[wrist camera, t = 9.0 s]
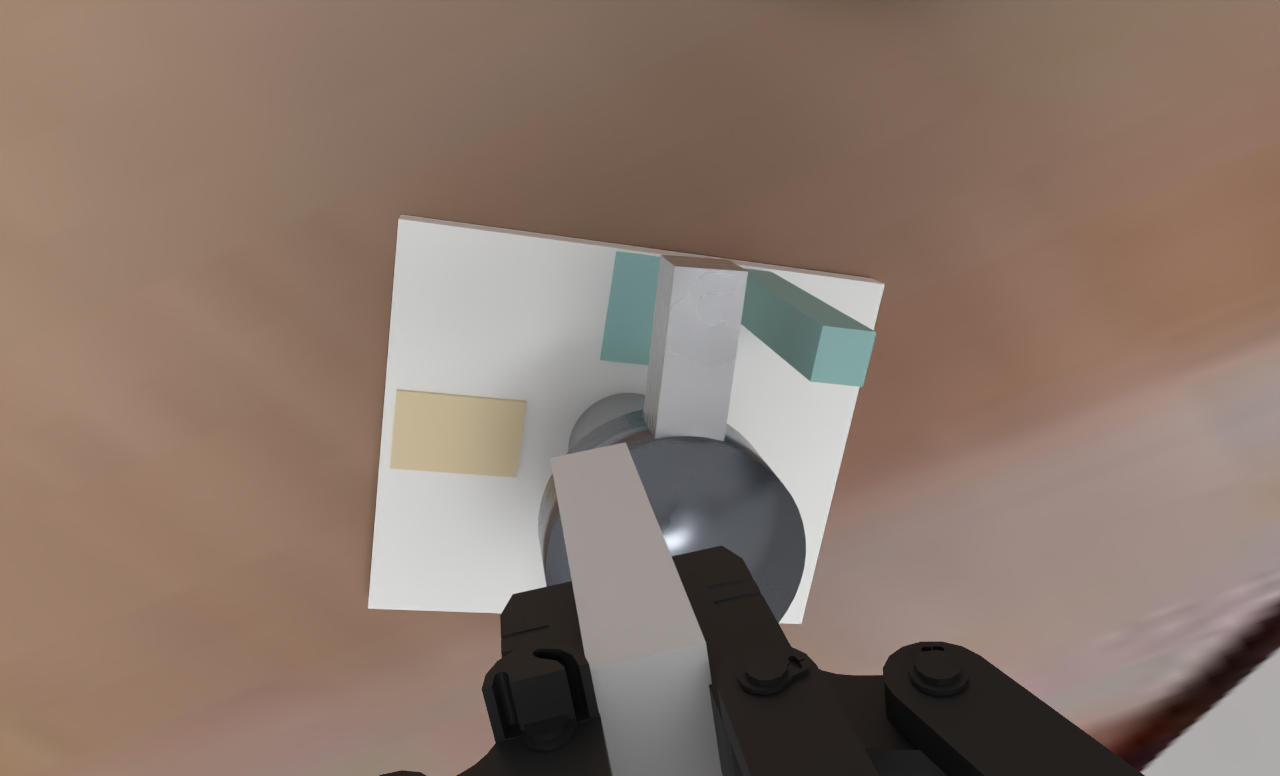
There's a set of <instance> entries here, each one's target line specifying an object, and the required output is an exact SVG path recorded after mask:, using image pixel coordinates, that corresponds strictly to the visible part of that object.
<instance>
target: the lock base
mask: <svg viewBox="0 0 1280 776" xmlns="http://www.w3.org/2000/svg"><path fill="white" fill-rule="evenodd" d="M660 255H673V256H687V257H700V258H714V259H726V258H719V257H711V256H704V255H697V254H689V253H682V252H674V251H667V250H660V249H652V248H645V247H638V246H630V245H623V244H616V243H608V242H601V241H593V240H586V239H579V238H571V237H564V236H557V235H549V234H542V233H534V232H527V231H520V230H512V229H505V228H498V227H490V226H483V225H476V224H468V223H461V222H453V221H446V220H439V219H431V218H424V217H417V216H409V215H402V214H401V215H400V217H399V219H398V232H397V245H396V257H395V270H394V283H393V296H392V308H391V321H390V334H389V347H388V360H387V372H386V385H385V398H384V411H383V424H382V436H381V449H380V462H379V475H378V487H377V500H376V513H375V526H374V539H373V551H372V564H371V577H370V590H369V603H368V609H393V610H421V611H449V612H478V613H502V612H503V610H504V608H505V606H506V605H507V603H508V601H509V600H510V598H511V596H512V594H516V593H520V592H525V591H529V590H534V589H538V588H543V587H546V580H545V574H544V568H543V561H542V555H541V549H540V542H539V536H538V517H539V510H540V504H541V500H542V497H543V493H544V490H545V488H546V485H547V483H548V481H549V479H550V477H551V475H552V473H553V472H552V466H551V460H550V458H552V457H557V456H562V455H566V453H567V452H568V451H569V450H570V449H571V448H572V447H573V446H574V445H575V444H576V443H577V442H578V441H579V440H580V439H581V438H583V437H584V436H585V435H587V434H588V433H589V432H591V431H592V430H593V429H595V428H597V427H599V426H600V425H602V424H604V423H606V422H607V421H609V420H612V419H614V418H616V417H619V416H621V415H624V414H627V413H631V412H634V411H638V410H643V409H644V400H645V391H646V382H647V373H648V364H649V354H650V345H651V336H652V327H653V318H654V309H655V300H656V290H657V281H658V272H659V263H660ZM727 260H730V261H732V262H734V263H735V264H737V265H738V266H740V267H742V268H743V269H745V270H746V271H748V275H747V282H746V290H745V297H744V304H743V311H742V318H741V325H740V332H739V339H738V346H737V353H736V360H735V368H734V375H733V382H732V389H731V396H730V403H729V410H728V417H727V424H729V425H730V426H731V427H733V428H734V429H735V430H737V431H738V432H739V433H741V434H742V436H743V437H744V438H745V439H746V440H747V441H748V442H749V443H750V444H751V445H752V446H753V447H754V449H755V450H756V451H757V452H758V454H759V455H760V456H761V457H762V458H763V460H764V461H765V462H766V463H767V465H768V466H769V467H770V468H771V469H772V471H773V472H774V473H775V474H776V476H777V477H778V478H779V479H780V481H781V482H782V483H783V484H784V486H785V487H786V489H787V490H788V491H789V493H790V494H791V495H792V497H793V499H794V501H795V503H796V505H797V507H798V509H799V512H800V515H801V518H802V521H803V526H804V531H805V537H806V557H805V566H804V571H803V575H802V579H801V582H800V585H799V588H798V590H797V593H796V595H795V597H794V599H793V601H792V603H791V605H790V607H789V609H788V610H787V612H786V613H785V615H784V616H783V618H782V619H781V620H780V622H779V623H788V624H801V623H802V619H803V615H804V611H805V607H806V603H807V599H808V595H809V591H810V587H811V582H812V578H813V574H814V570H815V566H816V562H817V558H818V554H819V550H820V546H821V542H822V538H823V534H824V530H825V526H826V521H827V517H828V513H829V509H830V505H831V501H832V497H833V493H834V489H835V485H836V481H837V477H838V473H839V469H840V464H841V460H842V456H843V452H844V448H845V444H846V440H847V436H848V432H849V428H850V424H851V420H852V416H853V412H854V408H855V403H856V399H857V395H858V391H859V387H863V385H864V381H865V377H866V373H867V369H868V365H869V361H870V357H871V352H872V348H873V344H874V340H875V336H876V332H875V331H874V326H875V322H876V318H877V314H878V310H879V306H880V302H881V298H882V294H883V290H884V285H885V284H883V283H881V282H878V281H876V280H874V279H872V278H866V277H859V276H851V275H844V274H837V273H829V272H822V271H814V270H807V269H800V268H792V267H785V266H778V265H770V264H763V263H756V262H748V261H741V260H733V259H727Z"/></svg>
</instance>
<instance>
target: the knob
mask: <svg viewBox="0 0 1280 776" xmlns="http://www.w3.org/2000/svg"><path fill="white" fill-rule="evenodd" d="M747 275H748V271H746V270H745V269H743V268H742V267H740V266H738V265H737V264H735V263H734V262H732V261H730V260H727V259H714V258H700V257H687V256H673V255H660V263H659V272H658V281H657V290H656V300H655V309H654V318H653V327H652V336H651V345H650V354H649V364H648V373H647V382H646V391H645V400H644V409H643V410H638V411H634V412H631V413H627V414H624V415H621V416H619V417H616V418H614V419H612V420H609V421H607V422H606V423H604V424H602V425H600V426H599V427H597V428H595V429H593V430H592V431H591V432H589V433H588V434H587V435H585V436H584V437H583V438H581V439H580V440H579V441H578V442H577V443H576V444H575V445H574V446H573V447H572V448H571V449H570V450H569V451H568V452H567V453H566V455H567V454H571V453H576V452H581V451H586V450H591V449H596V448H601V447H605V446H610V445H615V444H620V443H625V442H626V444H627V447H628V449H629V452H630V454H631V457H632V459H633V462H634V464H635V467H636V469H637V472H638V474H639V477H640V479H641V482H642V484H643V487H644V489H645V492H646V494H647V497H648V499H649V502H650V504H651V507H652V509H653V512H654V514H655V517H656V519H657V522H658V524H659V527H660V529H661V532H662V534H663V537H664V539H665V542H666V544H667V547H668V549H669V552H670V554H671V557H672V556H677V555H681V554H686V553H690V552H695V551H699V550H704V549H708V548H713V547H717V546H724V547H725V548H727V549H728V550H730V551H731V552H733V553H735V554H736V555H738V556H739V557H741V558H742V559H743V560H744V562H745V564H746V566H747V568H748V569H749V571H750V573H751V575H752V577H753V580H755V582H756V584H757V586H758V588H759V589H760V591H761V595H763V597H764V598H765V600H766V602H767V604H768V606H769V607H770V609H771V611H772V613H773V615H774V617H775V618H776V620H777V622H778V623H779V622H780V620H781V619H782V618H783V616H784V615H785V613H786V612H787V610H788V609H789V607H790V605H791V603H792V601H793V599H794V597H795V595H796V593H797V590H798V588H799V585H800V582H801V579H802V575H803V571H804V566H805V557H806V537H805V531H804V526H803V521H802V518H801V515H800V512H799V509H798V507H797V505H796V503H795V501H794V499H793V497H792V495H791V494H790V493H789V491H788V490H787V489H786V487H785V486H784V484H783V483H782V482H781V481H780V479H779V478H778V477H777V476H776V474H775V473H774V472H773V471H772V469H771V468H770V467H769V466H768V465H767V463H766V462H765V461H764V460H763V458H762V457H761V456H760V455H759V454H758V452H757V451H756V450H755V449H754V447H753V446H752V445H751V444H750V443H749V442H748V441H747V440H746V439H745V438H744V437H743V436H742V434H741V433H739V432H738V431H737V430H735V429H734V428H733V427H731V426H730V425H729V424H727V417H728V410H729V403H730V396H731V389H732V382H733V375H734V368H735V360H736V353H737V346H738V339H739V332H740V325H741V318H742V311H743V304H744V297H745V290H746V282H747ZM538 536H539V542H540V549H541V555H542V561H543V568H544V574H545V580H546V587H547V586H552V585H556V584H561V583H565V582H570V581H572V579H571V574H570V568H569V562H568V557H567V551H566V545H565V540H564V534H563V528H562V523H561V517H560V511H559V506H558V500H557V494H556V489H555V483H554V477H553V473H552V475H551V477H550V479H549V481H548V483H547V485H546V488H545V490H544V493H543V497H542V500H541V504H540V510H539V517H538Z"/></svg>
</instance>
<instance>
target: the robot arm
mask: <svg viewBox="0 0 1280 776" xmlns="http://www.w3.org/2000/svg"><path fill="white" fill-rule="evenodd" d="M550 460H551V466H552V472H553V477H554V483H555V489H556V494H557V500H558V506H559V511H560V517H561V523H562V528H563V534H564V540H565V545H566V551H567V557H568V562H569V568H570V574H571V579H572V581H570V582H565V583H561V584H556V585H552V586H547V587H543V588H538V589H534V590H529V591H525V592H520V593H516V594H512V596H511V598H510V600H509V601H508V603H507V605H506V606H505V608H504V610H503V612H502V613H501V615H500V618H501V639H502V640H501V653H502V659H500V660H499V661H497V662H496V663H495V665H494V666H493V667H492V668H491V669H490V671H489V672H488V673H487V674H486V676H485V680H484V683H483V687H482V692H483V695H484V699H485V703H486V707H487V711H488V715H489V718H490V722H491V726H492V730H493V734H494V738H495V742H496V744H495V745H494V746H493V747H492V749H491V750H490V751H489V752H488V754H487V755H486V756H484V757H483V758H482V759H481V760H480V761H479V762H478V763H476V764H475V765H474V766H472V767H471V768H469V769H467V770H466V771H464V772H462V773H461V774H459V775H457V776H1144V775H1143V774H1142V773H1140V772H1139V771H1138V770H1136V769H1135V768H1133V767H1132V766H1131V765H1129V764H1128V763H1127V762H1125V761H1124V760H1122V759H1121V758H1120V757H1118V756H1117V755H1116V754H1114V753H1113V752H1111V751H1110V750H1109V749H1107V748H1106V747H1105V746H1103V745H1102V744H1100V743H1099V742H1098V741H1096V740H1095V739H1094V738H1092V737H1091V736H1090V735H1088V734H1087V733H1085V732H1084V731H1083V730H1081V729H1080V728H1079V727H1077V726H1076V725H1074V724H1073V723H1072V722H1070V721H1069V720H1068V719H1066V718H1065V717H1063V716H1062V715H1061V714H1059V713H1058V712H1057V711H1055V710H1054V709H1052V708H1051V707H1050V706H1048V705H1047V704H1046V703H1044V702H1043V701H1041V700H1040V699H1039V698H1037V697H1036V696H1035V695H1033V694H1032V693H1031V692H1029V691H1028V690H1026V689H1025V688H1024V687H1022V686H1021V685H1020V684H1018V683H1017V682H1015V681H1014V680H1013V679H1011V678H1010V677H1009V676H1007V675H1006V674H1004V673H1003V672H1002V671H1000V670H999V669H998V668H996V667H995V666H993V665H992V664H991V663H989V662H988V661H987V660H985V659H984V658H983V657H981V656H980V655H978V654H976V653H974V652H972V651H970V650H968V649H966V648H964V647H962V646H958V645H954V644H950V643H945V642H919V643H915V644H911V645H908V646H904V647H902V648H900V649H899V650H897V651H896V652H894V653H893V654H892V655H890V656H889V658H888V660H887V662H886V663H885V665H884V667H883V675H874V676H853V675H841V674H834V673H830V672H826V671H822V670H820V669H818V667H817V665H816V664H815V663H814V662H813V661H812V660H811V659H810V658H809V657H808V656H807V654H805V653H803V652H801V651H799V650H797V649H795V648H792V647H791V646H790V644H789V642H788V640H787V638H786V637H785V635H784V633H783V631H782V629H781V627H780V626H779V624H778V622H777V620H776V618H775V617H774V615H773V613H772V611H771V609H770V607H769V606H768V604H767V602H766V600H765V598H764V597H763V595H761V591H760V589H759V588H758V586H757V584H756V582H755V580H753V577H752V575H751V573H750V571H749V569H748V568H747V566H746V564H745V562H744V560H743V559H742V558H741V557H739V556H738V555H736V554H735V553H733V552H731V551H730V550H728V549H727V548H725V547H724V546H717V547H713V548H708V549H704V550H699V551H695V552H690V553H686V554H681V555H677V556H672V557H671V554H670V552H669V549H668V547H667V544H666V542H665V539H664V537H663V534H662V532H661V529H660V527H659V524H658V522H657V519H656V517H655V514H654V512H653V509H652V507H651V504H650V502H649V499H648V497H647V494H646V492H645V489H644V487H643V484H642V482H641V479H640V477H639V474H638V472H637V469H636V467H635V464H634V462H633V459H632V457H631V454H630V452H629V449H628V447H627V444H626V442H625V443H620V444H615V445H610V446H605V447H601V448H596V449H591V450H586V451H581V452H576V453H571V454H567V455H562V456H557V457H552V458H550ZM380 776H426V775H424V774H423V773H421V772H412V771H397V772H393V773H388V774H383V775H380Z"/></svg>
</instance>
